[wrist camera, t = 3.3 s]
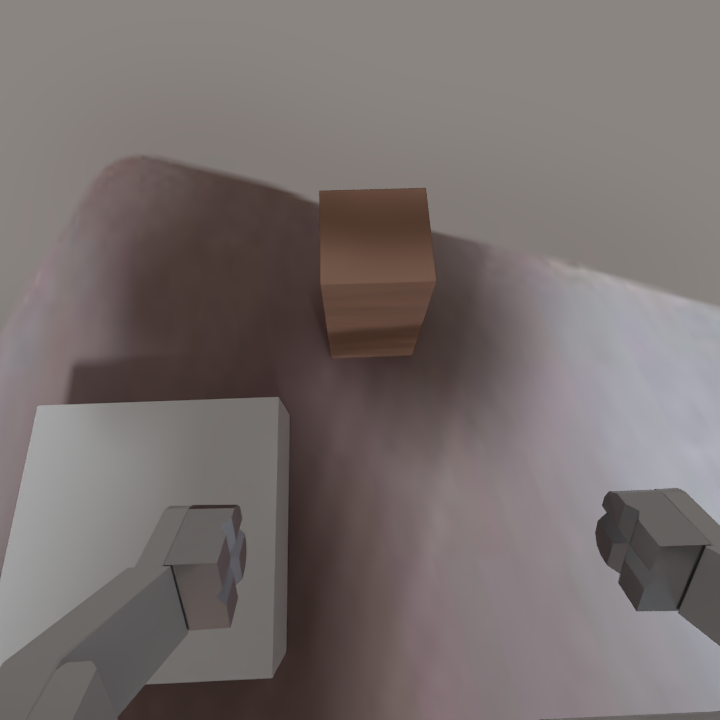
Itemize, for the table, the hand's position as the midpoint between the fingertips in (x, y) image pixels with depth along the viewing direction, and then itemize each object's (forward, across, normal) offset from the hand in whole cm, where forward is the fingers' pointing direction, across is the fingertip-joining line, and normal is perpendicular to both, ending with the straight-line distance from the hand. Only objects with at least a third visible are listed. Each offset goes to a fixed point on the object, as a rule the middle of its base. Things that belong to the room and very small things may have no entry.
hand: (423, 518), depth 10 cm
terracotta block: (+19, 0, +2) cm, 20 cm away
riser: (+11, +11, +11) cm, 19 cm away
